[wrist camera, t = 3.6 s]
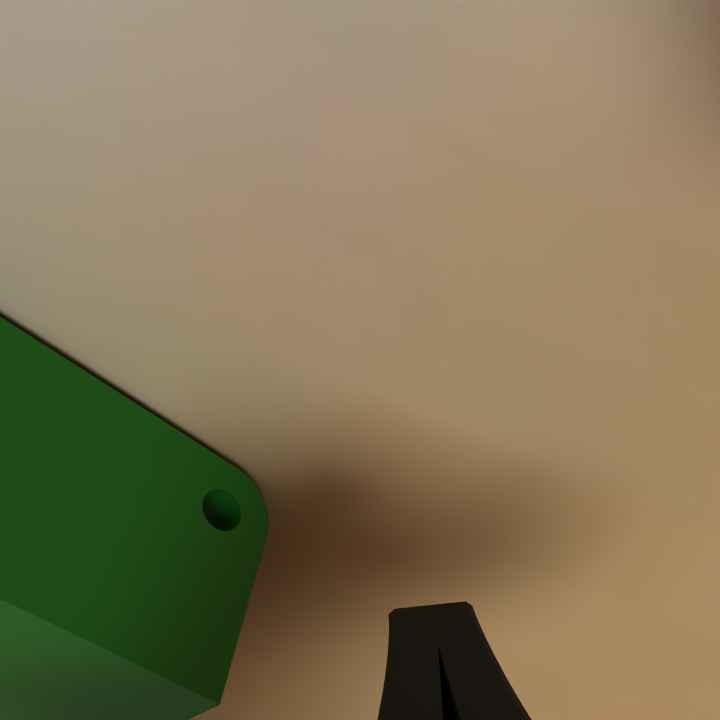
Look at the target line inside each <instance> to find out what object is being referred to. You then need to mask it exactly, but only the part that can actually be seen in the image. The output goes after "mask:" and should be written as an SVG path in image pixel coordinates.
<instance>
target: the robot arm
mask: <svg viewBox="0 0 720 720" xmlns="http://www.w3.org/2000/svg"><path fill="white" fill-rule="evenodd" d="M378 720H531V718H530V717H529V715H528V713H527V712H526V710H525V708H524V707H523V705H522V704H521V702H520V700H519V699H518V697H517V695H516V694H515V692H514V690H513V688H512V687H511V685H510V683H509V681H508V680H507V678H506V676H505V674H504V672H503V671H502V669H501V667H500V665H499V663H498V661H497V659H496V657H495V656H494V654H493V652H492V650H491V648H490V646H489V644H488V642H487V640H486V637H485V635H484V633H483V631H482V629H481V626H480V624H479V622H478V620H477V617H476V615H475V612H474V609H473V607H472V605H470V604H469V603H467V602H466V601H465V602H456V603H446V604H437V605H427V606H417V607H408V608H398V609H394V610H393V611H392V612H391V613H390V614H389V646H388V657H387V666H386V674H385V681H384V688H383V694H382V699H381V704H380V710H379V715H378Z"/></svg>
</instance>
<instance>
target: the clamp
mask: <svg viewBox="0 0 720 720" xmlns="http://www.w3.org/2000/svg"><path fill="white" fill-rule="evenodd" d="M267 532H268V515H267V510H266V506H265V503H264V500H263V498H262V496H261V494H260V492H259V490H258V489H257V487H256V486H255V484H254V483H253V482H252V481H251V480H250V478H249V477H248V476H247V475H246V474H244V473H243V472H242V471H241V470H239V469H238V468H236V467H235V466H233V465H232V464H230V463H228V462H227V461H225V460H224V459H222V458H221V457H219V456H217V455H216V454H214V453H213V452H211V451H210V450H208V449H206V448H205V447H203V446H202V445H200V444H199V443H197V442H196V441H194V440H192V439H191V438H189V437H188V436H186V435H185V434H183V433H181V432H180V431H178V430H177V429H175V428H174V427H172V426H170V425H169V424H167V423H166V422H164V421H163V420H161V419H159V418H158V417H156V416H155V415H153V414H152V413H150V412H149V411H147V410H145V409H144V408H142V407H141V406H139V405H138V404H136V403H134V402H133V401H131V400H130V399H128V398H127V397H125V396H123V395H122V394H120V393H119V392H117V391H116V390H114V389H113V388H111V387H109V386H108V385H106V384H105V383H103V382H102V381H100V380H98V379H97V378H95V377H94V376H92V375H91V374H89V373H87V372H86V371H84V370H83V369H81V368H80V367H78V366H76V365H75V364H73V363H72V362H70V361H69V360H67V359H66V358H64V357H62V356H61V355H59V354H58V353H56V352H55V351H53V350H51V349H50V348H48V347H47V346H45V345H44V344H42V343H40V342H39V341H37V340H36V339H34V338H33V337H31V336H30V335H28V334H26V333H25V332H23V331H22V330H20V329H19V328H17V327H15V326H14V325H12V324H11V323H9V322H8V321H6V320H4V319H3V318H1V317H0V720H188V719H190V718H192V717H194V716H197V715H199V714H201V713H203V712H205V711H207V710H209V709H211V708H213V707H215V706H217V705H219V704H220V701H221V698H222V694H223V691H224V687H225V683H226V680H227V676H228V673H229V669H230V666H231V662H232V658H233V655H234V651H235V648H236V644H237V640H238V637H239V633H240V630H241V626H242V623H243V619H244V615H245V612H246V608H247V605H248V601H249V597H250V594H251V590H252V587H253V583H254V580H255V576H256V572H257V569H258V565H259V562H260V558H261V554H262V551H263V547H264V544H265V540H266V537H267Z"/></svg>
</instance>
